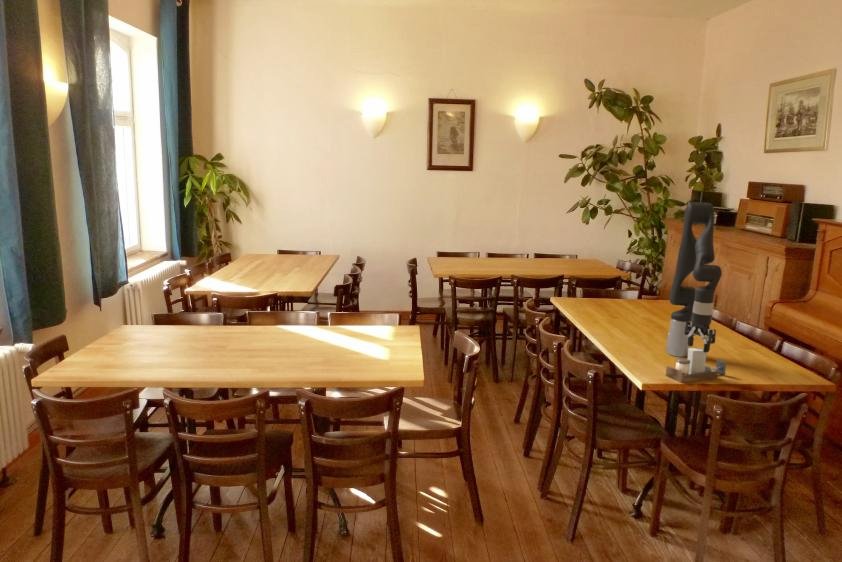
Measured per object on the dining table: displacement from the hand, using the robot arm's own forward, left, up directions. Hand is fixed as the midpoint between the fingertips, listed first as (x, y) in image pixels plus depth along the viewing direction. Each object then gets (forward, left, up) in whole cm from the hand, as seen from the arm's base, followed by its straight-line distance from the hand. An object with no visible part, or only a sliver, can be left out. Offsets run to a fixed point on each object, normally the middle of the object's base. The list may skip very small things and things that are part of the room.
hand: (697, 349), depth 248 cm
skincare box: (0, 0, -12) cm, 12 cm away
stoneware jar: (0, -7, -12) cm, 14 cm away
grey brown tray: (0, -1, -13) cm, 13 cm away
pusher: (0, +9, -13) cm, 16 cm away
